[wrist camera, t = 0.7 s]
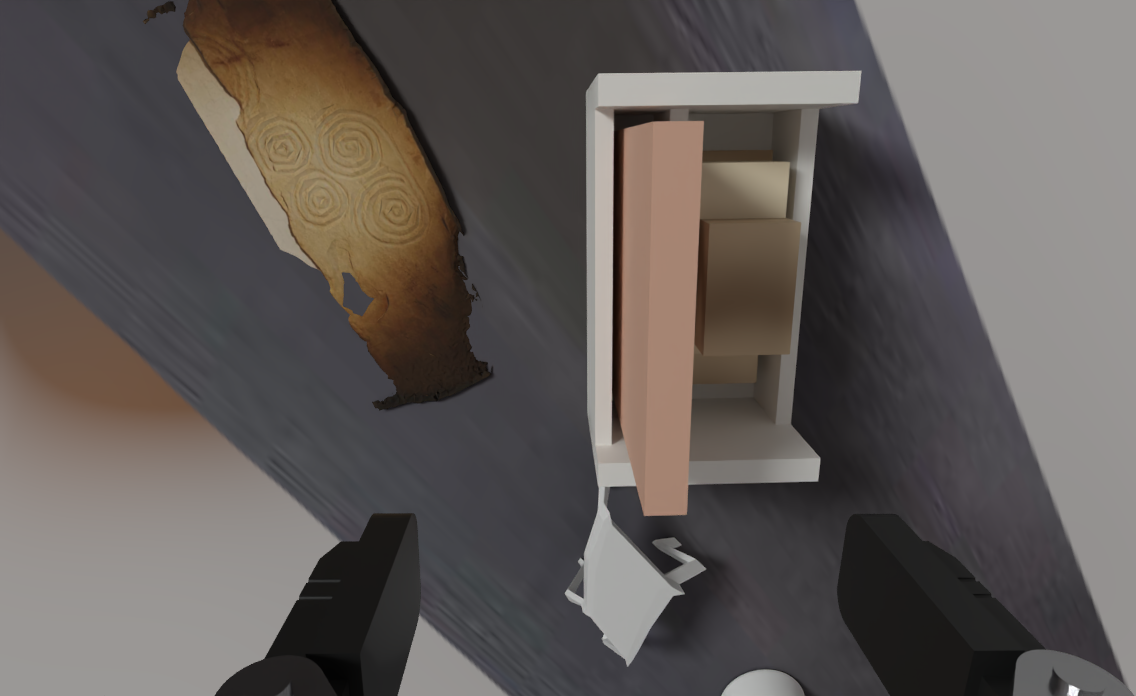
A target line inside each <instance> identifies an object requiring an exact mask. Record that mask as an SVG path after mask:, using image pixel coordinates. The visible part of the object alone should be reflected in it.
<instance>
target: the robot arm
mask: <svg viewBox="0 0 1136 696" xmlns="http://www.w3.org/2000/svg"><path fill="white" fill-rule="evenodd" d="M837 596H838V604H839V609H840V612H841V615H842V618H843V620H844V622H845V624H846V625H847V627H848V629H849V630H850V632H851V633H852V635H853V637H854V638H855V640H856V641H857V643H858V645H859V646H860V648H861V650H862V651H863V653H864V654H865V656H866V658H867V659H868V661H869V662H870V664H871V666H872V667H873V669H874V670H875V672H876V674H877V675H878V677H879V679H880V680H881V682H882V683H883V685H884V687H885V688H886V690H887V691H888V693H889V695H890V696H1134V695H1133V693H1132V692H1131V691H1130V690H1129V689H1128V688H1127V687H1126V686H1125V685H1124V684H1123V683H1122V682H1121V681H1119V680H1118V679H1117V678H1116V677H1114V676H1113V675H1111V674H1110V673H1108V672H1107V671H1105V670H1103V669H1102V668H1100V667H1098V666H1096V665H1094V664H1092V663H1090V662H1088V661H1086V660H1084V659H1081V658H1079V657H1076V656H1073V655H1070V654H1067V653H1063V652H1058V651H1052V650H1046V649H1045V648H1044V647H1043V646H1042V645H1041V644H1040V643H1039V642H1038V641H1037V640H1036V639H1035V638H1034V637H1033V636H1032V635H1031V634H1030V633H1029V632H1028V631H1027V630H1026V629H1025V628H1024V627H1023V626H1022V625H1021V624H1020V622H1019V621H1018V620H1017V619H1016V618H1015V617H1014V616H1013V615H1012V614H1011V613H1010V612H1009V611H1008V610H1007V609H1006V608H1005V607H1004V606H1003V605H1002V604H1001V603H1000V602H999V601H998V600H997V599H996V598H992V597H991V593H990V592H989V591H988V590H987V589H986V588H985V587H984V586H983V585H982V584H981V583H980V582H979V581H976V580H975V577H974V576H973V575H972V574H971V573H970V572H969V571H968V570H967V569H966V568H965V567H964V566H963V565H962V564H961V563H960V562H959V561H958V560H957V559H956V558H955V557H953V556H952V555H950V554H948V553H947V552H945V551H943V550H942V549H940V548H938V547H937V546H935V545H934V544H932V543H930V542H929V541H922V540H921V539H920V538H919V537H918V536H917V535H916V534H915V533H914V532H913V530H912V529H911V528H910V527H909V526H908V525H907V524H906V523H905V522H904V521H903V520H902V519H901V518H900V517H899V516H898V515H896V514H853V515H852V516H851V517H850V518H849V520H848V523H847V527H846V534H845V540H844V547H843V553H842V560H841V566H840V572H839V579H838V586H837ZM420 599H421V583H420V565H419V548H418V530H417V520H416V516H415V514H413V513H406V514H373V515H372V516H371V518H370V520H369V522H368V524H367V526H366V528H365V530H364V532H363V534H362V536H361V538H360V541H359V542H340V543H339V544H337V545H336V546H335V547H334V548H333V549H331V550H330V551H329V552H328V553H326V554H325V555H324V556H323V557H322V558H320V560H319V561H318V563H317V565H316V567H315V568H314V570H313V572H312V574H311V576H310V577H309V582H308V583H306V585H305V586H304V588H303V590H302V592H301V594H300V596H299V600H297V601H296V603H295V605H294V606H293V608H292V610H291V612H290V614H289V615H288V617H287V619H286V621H285V623H284V624H283V626H282V628H281V630H280V632H279V633H278V635H277V637H276V639H275V641H274V643H273V645H272V646H271V648H270V650H269V652H268V653H267V655H266V657H265V659H263V660H261V661H258V662H255V663H253V664H251V665H249V666H247V667H245V668H243V669H242V670H240V671H238V672H237V673H236V674H234V675H233V676H232V677H230V678H229V679H228V680H227V681H226V682H225V683H224V684H223V685H222V686H221V688H220V689H219V690H218V691H217V693H216V695H215V696H397V695H398V692H399V688H400V684H401V681H402V677H403V674H404V670H405V666H406V663H407V658H408V655H409V652H410V648H411V645H412V641H413V637H414V634H415V630H416V626H417V622H418V617H419V611H420Z"/></svg>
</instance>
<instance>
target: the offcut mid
mask: <svg viewBox="0 0 1136 696" xmlns="http://www.w3.org/2000/svg"><path fill="white" fill-rule="evenodd" d="M789 169H790V162H784V161H720V162H702V176H701V199H700V219H746V218H786V207H787V194H788V182H789ZM699 223H700V222H699ZM698 246H699V245H698ZM697 269H698V268H697ZM694 354H701V352H700V351H699V350H698V348H697V347H696V346H695V344H694Z"/></svg>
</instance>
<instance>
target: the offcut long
mask: <svg viewBox="0 0 1136 696" xmlns="http://www.w3.org/2000/svg"><path fill="white" fill-rule="evenodd" d="M772 159H773V150H714V151H703V153H702V162H720V161H772ZM757 366H758V355H736V356H703V355H702V354H694V360H693V383H692V384H727V383H756V379H757Z"/></svg>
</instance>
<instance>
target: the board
mask: <svg viewBox="0 0 1136 696" xmlns="http://www.w3.org/2000/svg"><path fill="white" fill-rule="evenodd" d="M703 130H704V121H656V122H649V123H645V124H641V125H637V126H633V127H629V128H625V129H621V130H617V131H614V151H613V299H612V394H613V398H614V401H615V405H616V409H617V413H618V417H619V421H620V424H621V428H622V432H623V436H624V440H625V444H626V448H627V451H628V455H629V459H630V463H631V467H632V471H633V475H634V478H635V482H636V486H637V490H638V494H639V498H640V502H641V505H642V509H643V513H644V516H660V515H687V498H688V475H689V452H690V429H691V406H692V383H693V360H694V337H695V314H696V291H697V268H698V245H699V222H700V199H701V176H702V153H703Z"/></svg>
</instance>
